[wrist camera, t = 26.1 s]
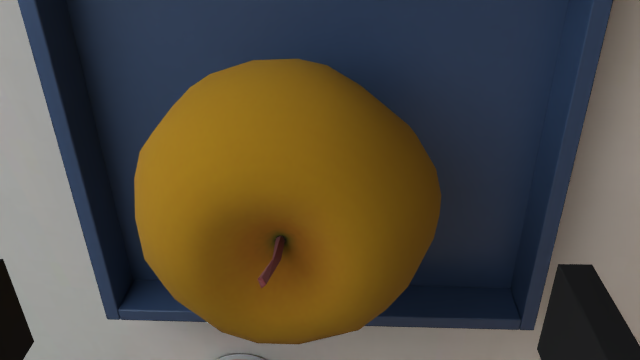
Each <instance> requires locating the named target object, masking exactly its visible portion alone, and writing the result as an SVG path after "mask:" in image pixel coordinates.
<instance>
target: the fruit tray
mask: <svg viewBox="0 0 640 360" xmlns="http://www.w3.org/2000/svg"><path fill="white" fill-rule="evenodd" d="M18 3H19V7H20V10H21V14H22V17H23V21H24V24H25V28H26V32H27V35H28V39H29V42H30V46H31V49H32V53H33V56H34V60H35V64H36V67H37V71H38V74H39V78H40V81H41V85H42V89H43V92H44V96H45V99H46V103H47V106H48V110H49V113H50V117H51V121H52V124H53V128H54V131H55V135H56V138H57V142H58V146H59V149H60V153H61V156H62V160H63V163H64V167H65V170H66V174H67V178H68V181H69V185H70V188H71V192H72V195H73V199H74V203H75V206H76V210H77V213H78V217H79V220H80V224H81V227H82V231H83V235H84V238H85V242H86V245H87V249H88V252H89V256H90V260H91V263H92V267H93V270H94V274H95V277H96V281H97V284H98V288H99V292H100V295H101V299H102V302H103V306H104V309H105V313H106V317H107V319H115V320H119V319H121V320H152V321H192V322H207V321H205V320H204V319H202V318H201V317H199V316H198V315H197V314H195V313H194V312H192V311H191V310H189V309H188V308H186V307H185V306H184V305H182V304H181V303H179V302H178V301H176V300H175V299H174V298H173V296H172V295H171V294H170V293H169V291H168V290H167V289H166V288H165V286H164V285H163V284H162V282H161V281H160V280H159V278H158V277H157V276H156V274H155V273H154V271H153V270H152V269H151V267H150V266H149V265H148V263H147V262H146V261H145V259H144V255H143V251H142V246H141V242H140V237H139V233H138V229H137V224H136V220H135V189H134V177H135V172H136V168H137V163H138V158H139V153H140V150H141V149H142V147H143V146H144V144H145V143H146V141H147V140H148V138H149V137H150V135H151V134H152V133H153V131H154V130H155V128H156V127H157V126H158V124H159V123H160V122H161V121H162V119H163V118H164V117H165V115H166V114H167V113H168V111H169V110H170V109H171V107H172V106H173V105H174V104H175V103H176V102H177V101H178V100H179V99H180V98H181V97H182V96H183V94H184V93H185V92H186V91H187V90H188V89H189V88H190V87H191V86H193V85H194V84H196V83H197V82H199V81H200V80H202V79H203V78H205V77H206V76H208V75H209V74H212V73H215V72H218V71H221V70H224V69H227V68H230V67H233V66H236V65H239V64H242V63H245V62H249V61H252V60H270V59H302V60H306V61H311V62H315V63H320V64H324V65H327V66H329V67H331V68H332V69H334V70H336V71H337V72H339V73H341V74H342V75H344V76H346V77H347V78H349V79H351V80H352V81H354V82H356V83H357V84H359V85H361V86H362V87H363V88H364V89H366V90H367V91H368V92H369V93H370V94H372V95H373V96H374V97H375V98H376V99H378V100H379V101H380V102H381V103H382V104H384V105H385V106H386V107H387V108H389V109H390V110H391V111H392V112H393V113H395V114H396V115H397V116H398V117H399V118H401V119H402V120H403V121H404V122H405V123H407V124H408V125H409V126H410V127H411V129H412V130H413V131H414V133H415V134H416V135H417V137H418V139H419V140H420V142H421V144H422V146H423V147H424V149H425V151H426V153H427V154H428V156H429V158H430V159H431V161H432V163H433V165H434V166H435V168H436V171H437V176H438V181H439V186H440V191H441V205H440V215H439V219H438V223H437V227H436V232H435V236H434V239H433V241H432V243H431V245H430V246H429V248H428V250H427V252H426V254H425V256H424V258H423V260H422V262H421V263H420V265H419V267H418V269H417V271H416V273H415V275H414V276H413V278H412V280H411V282H410V284H409V286H408V287H407V288H406V289H405V290H404V291H403V293H402V294H401V295H400V296H399V297H398V298H397V299H396V300H395V301H394V302H393V303H392V304H391V305H390V306H389V307H388V308H387V309H386V310H385V311H384V312H382V313H381V314H380V315H378V316H377V317H376V318H374V319H373V320H372V321H370V322H369V323H367V324H366V325H365V326H390V327H429V328H469V329H508V330H519V329H520V330H534V327H535V323H536V319H537V315H538V310H539V306H540V302H541V298H542V294H543V290H544V285H545V281H546V277H547V273H548V269H549V265H550V261H551V256H552V252H553V248H554V244H555V240H556V236H557V231H558V227H559V223H560V219H561V215H562V211H563V206H564V202H565V198H566V194H567V190H568V186H569V182H570V177H571V173H572V169H573V165H574V161H575V157H576V152H577V148H578V144H579V140H580V136H581V132H582V128H583V123H584V119H585V115H586V111H587V107H588V103H589V98H590V94H591V90H592V86H593V82H594V78H595V74H596V69H597V65H598V61H599V57H600V53H601V49H602V44H603V40H604V36H605V32H606V28H607V24H608V20H609V15H610V11H611V7H612V3H613V0H18Z"/></svg>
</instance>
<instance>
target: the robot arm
mask: <svg viewBox="0 0 640 360" xmlns="http://www.w3.org/2000/svg"><path fill="white" fill-rule="evenodd" d="M33 343H34V340H33V338H32V335H31V332H30V330H29V327H28V324H27V322H26V319H25V316H24V314H23V311H22V308H21V306H20V303H19V300H18V298H17V295H16V293H15V290H14V287H13V285H12V282H11V279H10V277H9V274H8V271H7V269H6V266H5V263H4V261H3V259H0V360H23V359H24V357H25V355H26V354H27V352H28V351H29V349H30V347H31V346H32V344H33ZM537 350H538V353H539V355H540V358H541V360H640V346H639V344H638V342H637V341H636V339H635V337H634V335H633V334H632V332H631V330H630V329H629V327H628V325H627V324H626V322H625V320H624V318H623V317H622V315H621V313H620V312H619V310H618V308H617V306H616V305H615V303H614V301H613V300H612V298H611V296H610V295H609V293H608V291H607V289H606V288H605V286H604V284H603V283H602V281H601V279H600V278H599V276H598V274H597V272H596V271H595V269H594V267H593V266H592V265H582V264H558V267H557V271H556V275H555V279H554V283H553V287H552V291H551V295H550V299H549V303H548V307H547V311H546V315H545V319H544V323H543V327H542V331H541V335H540V339H539V343H538V347H537Z"/></svg>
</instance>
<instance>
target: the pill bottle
mask: <svg viewBox="0 0 640 360" xmlns="http://www.w3.org/2000/svg"><path fill="white" fill-rule="evenodd" d="M217 360H265V359H263V358H260V357H257V356H254V355H248V354H234V355H228V356H224V357H221V358H218V359H217Z"/></svg>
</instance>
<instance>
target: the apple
mask: <svg viewBox="0 0 640 360" xmlns="http://www.w3.org/2000/svg"><path fill="white" fill-rule="evenodd" d="M134 189H135V220H136V224H137V229H138V233H139V237H140V242H141V246H142V251H143V255H144V259H145V261H146V262H147V263H148V265H149V266H150V267H151V269H152V270H153V271H154V273H155V274H156V276H157V277H158V278H159V280H160V281H161V282H162V284H163V285H164V286H165V288H166V289H167V290H168V291H169V293H170V294H171V295H172V296H173V298H174V299H175V300H176V301H178V302H179V303H181V304H182V305H184V306H185V307H186V308H188V309H189V310H191V311H192V312H194V313H195V314H197V315H198V316H199V317H201V318H202V319H204V320H205V321H207V322H208V323H209V324H211V325H212V326H214V327H215V328H217V329H218V330H220V331H221V332H223V333H227V334H230V335H233V336H236V337H240V338H243V339H246V340H249V341H253V342H256V343H272V344H302V343H306V342H310V341H314V340H319V339H323V338H327V337H331V336H335V335H340V334H344V333H348V332H352V331H357V330H359V329H361V328H362V327H363V326H365V325H366V324H367V323H369V322H370V321H372V320H373V319H374V318H376V317H377V316H378V315H380V314H381V313H382V312H384V311H385V310H386V309H387V308H388V307H389V306H390V305H391V304H392V303H393V302H394V301H395V300H396V299H397V298H398V297H399V296H400V295H401V294H402V293H403V291H404V290H405V289H406V288H407V287H408V286H409V284H410V282H411V280H412V278H413V276H414V275H415V273H416V271H417V269H418V267H419V265H420V263H421V262H422V260H423V258H424V256H425V254H426V252H427V250H428V248H429V246H430V245H431V243H432V241H433V239H434V236H435V232H436V227H437V223H438V219H439V215H440V205H441V191H440V186H439V181H438V176H437V171H436V168H435V166H434V165H433V163H432V161H431V159H430V158H429V156H428V154H427V153H426V151H425V149H424V147H423V146H422V144H421V142H420V140H419V139H418V137H417V135H416V134H415V133H414V131H413V130H412V129H411V127H410V126H409V125H408V124H407V123H405V122H404V121H403V120H402V119H401V118H399V117H398V116H397V115H396V114H395V113H393V112H392V111H391V110H390V109H389V108H387V107H386V106H385V105H384V104H382V103H381V102H380V101H379V100H378V99H376V98H375V97H374V96H373V95H372V94H370V93H369V92H368V91H367V90H366V89H364V88H363V87H362V86H361V85H359V84H357V83H356V82H354V81H352V80H351V79H349V78H347V77H346V76H344V75H342V74H341V73H339V72H337V71H336V70H334V69H332V68H331V67H329V66H327V65H324V64H320V63H315V62H311V61H306V60H302V59H270V60H252V61H249V62H245V63H242V64H239V65H236V66H233V67H230V68H227V69H224V70H221V71H218V72H215V73H212V74H209V75H208V76H206V77H205V78H203V79H202V80H200V81H199V82H197V83H196V84H194V85H193V86H191V87H190V88H189V89H188V90H187V91H186V92H185V93H184V94H183V96H182V97H181V98H180V99H179V100H178V101H177V102H176V103H175V104H174V105H173V106H172V107H171V109H170V110H169V111H168V113H167V114H166V115H165V117H164V118H163V119H162V121H161V122H160V123H159V124H158V126H157V127H156V128H155V130H154V131H153V133H152V134H151V135H150V137H149V138H148V140H147V141H146V143H145V144H144V146H143V147H142V149H141V150H140V153H139V158H138V163H137V168H136V172H135V177H134Z"/></svg>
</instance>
